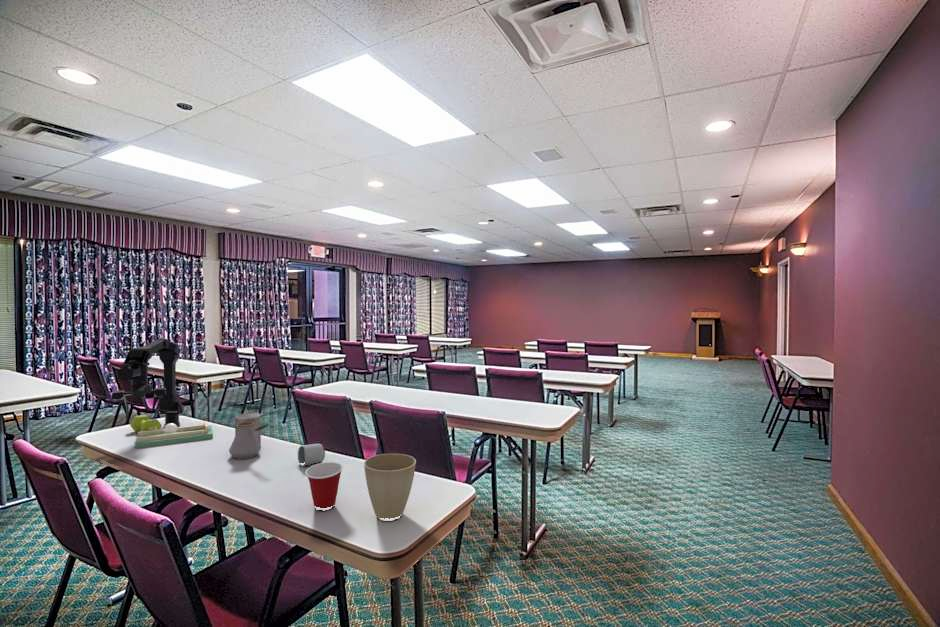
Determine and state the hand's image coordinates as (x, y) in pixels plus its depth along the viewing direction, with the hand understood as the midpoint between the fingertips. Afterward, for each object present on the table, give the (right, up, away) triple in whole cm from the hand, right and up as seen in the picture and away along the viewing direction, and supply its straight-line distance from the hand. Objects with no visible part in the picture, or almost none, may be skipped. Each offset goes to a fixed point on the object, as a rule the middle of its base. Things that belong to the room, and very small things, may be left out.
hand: (139, 413), depth 195 cm
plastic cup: (+99, -16, -59) cm, 116 cm away
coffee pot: (+57, -14, -17) cm, 61 cm away
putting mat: (+11, -13, +7) cm, 18 cm away
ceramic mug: (+81, -15, -21) cm, 85 cm away
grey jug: (+49, -14, -4) cm, 51 cm away
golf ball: (+9, -8, +6) cm, 14 cm away
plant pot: (+119, -16, -64) cm, 136 cm away
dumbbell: (-8, -13, +15) cm, 21 cm away
